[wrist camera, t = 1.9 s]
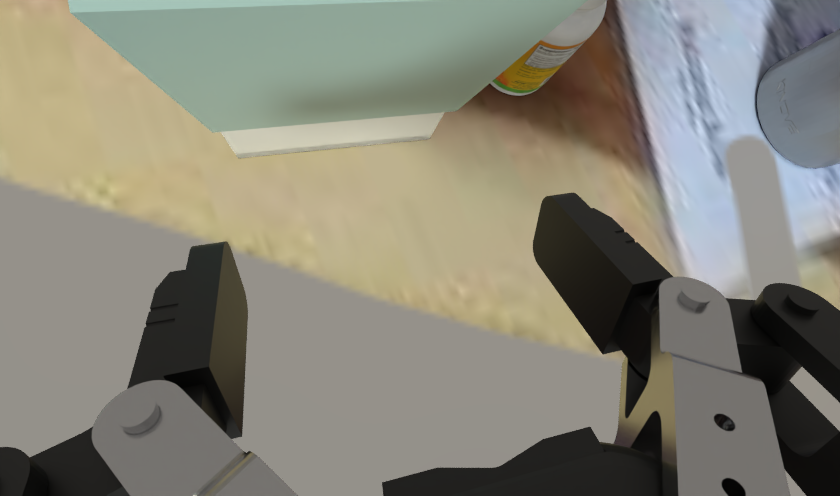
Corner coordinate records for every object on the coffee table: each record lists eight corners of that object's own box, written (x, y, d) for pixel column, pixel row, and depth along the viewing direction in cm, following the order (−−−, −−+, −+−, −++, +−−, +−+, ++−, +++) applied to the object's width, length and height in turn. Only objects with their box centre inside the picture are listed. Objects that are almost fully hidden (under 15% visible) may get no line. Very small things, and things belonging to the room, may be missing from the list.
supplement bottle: (472, 24, 31) (534, -99, 21) (543, 27, 32) (632, -89, 23) (479, 97, 30) (546, 4, 21) (552, 98, 31) (646, 10, 22)
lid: (590, -37, 11) (593, -5, 11) (454, 95, 23) (456, 111, 23) (62, -29, 9) (70, 12, 9) (209, 115, 21) (212, 132, 21)
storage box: (399, -29, 30) (415, -109, 24) (429, 139, 29) (453, 98, 23) (213, -26, 28) (180, -114, 22) (238, 158, 27) (211, 117, 21)
